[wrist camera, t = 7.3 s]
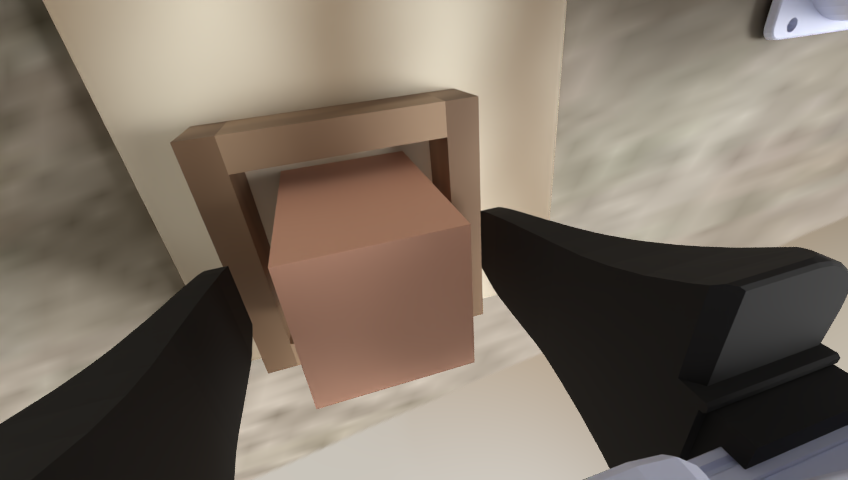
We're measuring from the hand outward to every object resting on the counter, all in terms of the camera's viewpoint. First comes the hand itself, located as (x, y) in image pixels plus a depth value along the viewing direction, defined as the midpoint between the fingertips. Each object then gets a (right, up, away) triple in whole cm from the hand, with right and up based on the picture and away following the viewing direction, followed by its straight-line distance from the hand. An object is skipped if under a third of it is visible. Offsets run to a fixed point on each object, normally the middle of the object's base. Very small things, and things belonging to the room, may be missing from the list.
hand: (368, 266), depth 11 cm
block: (-1, +2, +3) cm, 3 cm away
